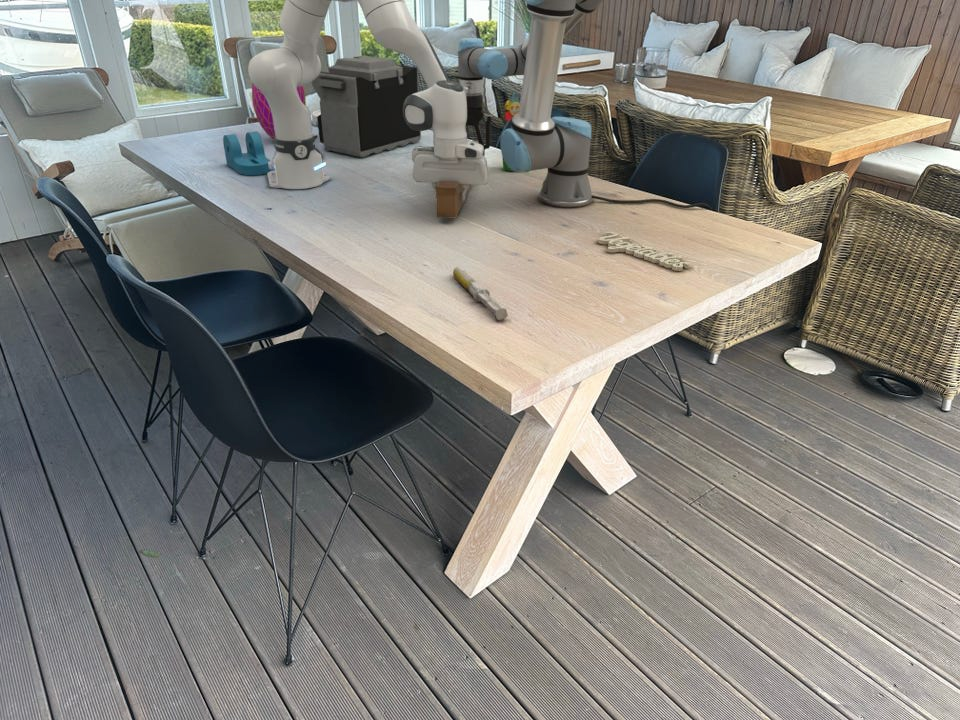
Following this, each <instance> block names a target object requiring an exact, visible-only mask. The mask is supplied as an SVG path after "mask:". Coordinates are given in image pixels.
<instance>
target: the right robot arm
mask: <svg viewBox="0 0 960 720" xmlns="http://www.w3.org/2000/svg"><path fill="white" fill-rule="evenodd" d="M523 2H525V3H526V11H527V12H528V13H529V15H530V17H531V20H530V25H529V34H528V36H527V38H526V39H525V40H524V41H523V42H522V43H521V44H520V45H519V46H518V47H508V48H485V46H484V41H483V39H482V38H479V37H463V38H460V39H459V41H458V49H457V50H458V51H457V68H458V69H457V71H458V73H457V74H458V75H457V76H458V79H457V80H458V81H457V83H459V84H460V85H462V86H463V88H464V90H465V94H466V100H467V121H466V127H468V126H472V127H474V130H475V134H476V137H477V141H478V142H479V144H481V145H483V147H484V153H483V155H484V156H485V157H486V155H485V154H486V153H485V152H486V150H487V149H488V150H489V149H490V148H491V122H492V119H493V115H492V114H487V113H485V111H484V95H483V92H484V79H487V80H497V81H498V80H500V79H502V78H504V77H505V78H506V77H514V76H515V77H517V76H523V77H522V78H523V79H522V85H521V92H520V98H519V101H520V106H519V113H518V114H516V115H515V116H514V117H513V116H512V118H511V125H510V127H509V128H506V129H505V130H503V132H502V133H501V136H500V143H499V146H500V152H502V153H501V157H502V156H503V158H504V161H505V163H506V164H507V166H508V167H509V168H510V169H511V170H513V171H512V172H515V173H522V172H523V173H524V172H525V173H529V172H532V171H537V170H545V169H547V173H546V176H545V178H544V180H543V182H542V185H541V186H542V187H541V189H540V192H539V200H540V202H542V203H543V204H546V205H549V206H553V207H558V208H559V207H560V208H580V207H584V206H588V205H589V204H591V203H592V199H594V200H600V201H604V202H607V203H616V204H643V203H661V204H662V203H663V204H666V205H669V206H671V207H675V208H680V209H681V208H682V209H691V208H697V207H705V208H707V209H708V210H710V211H711V210H713V208H712V206H710V205H709V204H708V203H706V202H705V203H704V202H699V203H693V204H681V203H680V204H679V203H677V202H673V201H669V200H665V199H659V198H648V199H632V200H631V199H627V200H625V199H624V200H623V199H612V198H606V197H602V196H598V195H593V193H592V188H591V184H590V179H589V165H590V164H589V163H590V153H591V143H592V137H593V136H592V125H591V124H590V123H589V122H588V121H586V120H583V119H579V118H574V117H567V116H553V117H551V116H552V111H553V103H554V99H555V97H554V96H555V91H556V85H557V80H558V73H559V68H560V62H561V56H562V49H563V42H564V38H565V37H566V36H567V35H568V34H569V33H570V32H571V31H572V30H573V28H574V27H575V26H576V25H577V24H578V23H579V22H580V21H581V20H582V19H583V18H584V17H585V15H588V14H592V13H593V12H595V11H596V10H597V9H598V7H600V6H601V4H602V3H603V2H604V0H523ZM482 119H484V122H485V141H484V138H483V133H482V130H481V123H480V122H481V120H482Z"/></svg>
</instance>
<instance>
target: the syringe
mask: <svg viewBox="0 0 960 720" xmlns="http://www.w3.org/2000/svg"><path fill="white" fill-rule="evenodd" d="M452 274H453V277H454V279H455V280H457V281H458V282H459V283H460V285H462V287H464V289H466V290H467V291H468V293H470V295H471V296H472V298H473V300H474V302H477V303H478V302H480V303H482V304H483V305H484V306H485V307H486V308H487V309H488V310H489V311H490V312H491V313H492V314H493V315H494V316H495V317H496V320H497V321H503V320H504V319H506V318H507V317H509V314H508V310H507V308H506V307H502V306H501V305H500V303H498V302H497V301H496V300H494V299H493V298H492V297H491V296H490V295H491V293H490V290H488V289H486V288H483V287H482V286H481V285H480V284H479V283H478V282H477V281H476V280H474V278H473V277H471V275H469V274H468V273H467V272H466V270H465V269H464V268H463V267H462V266H456V267H454V268H453V271H452Z"/></svg>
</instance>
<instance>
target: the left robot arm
mask: <svg viewBox="0 0 960 720" xmlns="http://www.w3.org/2000/svg"><path fill="white" fill-rule="evenodd" d="M332 1H334V2H341V3H348V2H357V3H358V4H359V6H360V8H361V12H362V14H363V16H364V19H365V22H366V24H367V27H368V29H369V32H370V33H371V35H372V37H373V39H374V40H375V41H376V43H378V45H380V46H382V47H384V48H385V49H388V50H390V51H393V52H397V53H399V54H402V55H403V56H406V57H407V58H409V59H410V60H411V61H413V62H414V64H415V65H416V67H417V68H418V71H419V72H420V74H421V76H422V79H423V80H424V82H425V84H426V86H427V88H426V89H424V90H421V91H419V92H417V93H414V94H412V95H409V96H408V97H407V98H406V99H405V101H404V104H403V116H404V119H405V122H406V123H407V125H408V126H409V127H410V128H411V129H413V130H415V131H421V132H424V131H431V132H432V134H433V135H432V137H433V138H432V139H433V141H432V142H433V146H422V145H418V146H417V147H414V148H413V149H412V151H411V159H412V162H413V167H412V179H413V180H414V181H415V182H416V183H430V186H431V188H432V190H433V192H434V193H435V194H436V186H437V185H438V183H439V181H452V182H459V184H463V188H465V190H464V191H463V192H460V194H459V197H460V198H459V200H464V201H466V198H465V193H466V192H467V190H468V188H469V185H472V186H485V185H486V184H487V183H488V182H489V167H488V161H487V158H486V155H485V156H484V155H483V153H484V147H483V145H481V144H478V143H475V142H473V141H474V140H470V139H468V132H467V129H466V127H467V126H466V121H467V100H466V94H465V90H464V88H463V86H462V85H460V84H459V83H458V81H454V80H450V78H449V76H448V74H447V72H446V70H445V68H444V67H443V64H442V62H441V60H440V58H439V56H438V54H437V53H436V51H435V48H434V47H433V45H432V43H431V41H430V39H429V38H428V35H426V33H425V32H424V31H423V30H422V29H421V28H420V27H419V25H418V24H417V22H416V21H415V19H414V18H413V16H412V14H411V12H410V10H409V9H408V6H407V4H406V1H405V0H284V4H283V7H282V10H281V13H280V17H279V24H278V25H279V27H280V30H281V31H282V33H283V41H282V44H281V45H280V46H279V47H278V48H272V49H266V50H263V51H261V52H259V53H257V54H256V55H254V56H253V57H252V58H251V59H250V60H249V61H248V62H249V63H248V67H247V71H248V76H249V79H250V81H251V84H252V83H253V84H254V85H255V86H256V87H257V88H258V89H259V90H260V91H261V92H262V93H263V94H264V96H265V98H266V100H267V102H268V104H269V106H270V109H271V113H272V117H273V123H274V130H275V139H274V141H273V143H274V150H275V152H274V154H273V156H272V160H270V161H268V167H269V169H271V171H270V172H268V173H266V174H267V180H268V185H269V188H273V189H274V188H275V189H278V188H279V189H286V190H305V189H311V188H316V187H319V186H321V185H322V184H324V183H325V182H327V181H328V182H329V181H330V176H329V175H327V174H325V171H324V167H325V166H326V164H327V163H326V162H323V155H322V153H321V152H320V151H319V149H318V148H317V147H316V146H317V145H316V138H319V135H317V134H316V135H314V134H313V122H312V113H311V110H310V108H309V106H307V105H304V104H303V103H302V101H301V99H300V97H299V95H298V91H297V87H299V86H303V87H304V86H307V85H309V84H311V83H312V81H313V80H315V79H316V78H317V77H318V76H319V74H320V71H321V72H322V63H321V59H320V57H319V55H318V43H319V38H320V36H321V32H322V30H323V29H322V28H323V26H324V23H325V21H326V17H327V15H328V11H329V8H330V5H331V3H332Z"/></svg>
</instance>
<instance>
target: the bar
mask: <svg viewBox="0 0 960 720" xmlns="http://www.w3.org/2000/svg"><path fill="white" fill-rule="evenodd" d="M472 141H473V142H475V143H478V144H479V142H478V140H472ZM472 186H473V185H469V188H468V190H467V192H466V193H465V199H466V197H467V196H468V194H469V192H470V189H471V188H472ZM464 190H465V188H463V184H459V182H452V181H439V183H438V184H437V186H436V193H435V200H436V201H435V202H436V204H435V205H436V206H435V207H436V218H448V219H456V218H457V216H458V214H459V212H460V211H461V208H462V206H463V204H464V202H465V200H459V198H460V197H459V194H460V192H463V191H464Z"/></svg>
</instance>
